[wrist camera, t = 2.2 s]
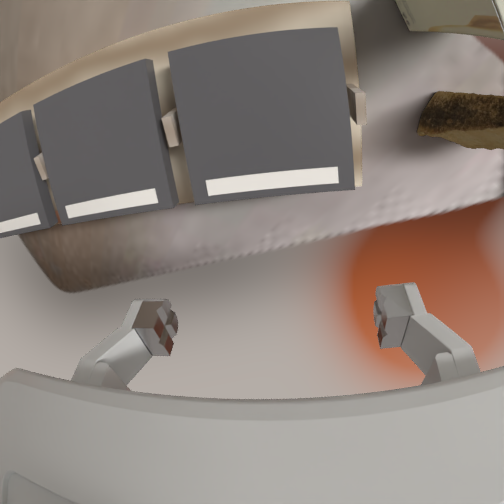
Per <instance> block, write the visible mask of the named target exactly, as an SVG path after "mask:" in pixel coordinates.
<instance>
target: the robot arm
mask: <svg viewBox="0 0 504 504" xmlns="http://www.w3.org/2000/svg"><path fill="white" fill-rule="evenodd" d="M376 297H377V300H376V301H375V302H374V321H375V326H376V327H378V328H379V329H378V334H377V336H378V340H379V345H380V349H381V348H392V347H401V348H402V350H403V351H404V352H405V353H406V354H407V355H408V356H409V357H410V358H411V359H412V361H413V362H414V363H415V364H416V365H417V366H418V367H419V368H420V370H421V371H422V372H423V373H424V374H425V375H426V376H425V378H424V380H423V382H422V384H421V385H420V386H414V387H408V388H402V389H395V390H388V391H380V392H372V393H364V394H354V395H344V396H333V397H319V398H318V397H317V398H298V399H217V398H197V397H183V396H171V395H161V394H151V393H143V392H135V391H131V390H130V389H129V388H128V387H127V386H126V385H127V384H128V383H129V382H130V381H131V380H132V379H133V378H134V376H135V375H136V374H137V373H138V372H139V371H140V370H141V369H142V368H143V366H144V365H145V364H146V363H147V362H148V361H149V360H150V358H151V357H152V356H170V354H171V351H172V348H173V344H174V343H173V341H172V338H173V337H174V336H175V335H176V333H177V330H178V320H177V316H176V314H175V312H173V311H172V310H170V308H171V303H170V302H169V300H167V299H135V300H133V302H132V303H131V306H130V308H129V310H128V312H127V314H126V317H125V319H124V321H123V323H122V326H121V328H117V329H116V330H115V331H113V332H112V333H111V334H110V335H109V336H107V337H106V338H105V339H104V340H103V341H101V342H100V343H99V344H98V345H97V346H96V347H94V348H93V349H92V350H91V351H89V352H88V353H87V354H86V355H85V356H83V357H82V358H81V359H80V361H79V364H78V366H77V368H76V371H75V373H74V375H73V377H72V380H71V381H69V380H64V379H60V378H55V377H51V376H46V375H42V374H39V373H35V372H30V371H27V370H23V369H19V368H16V369H13V370H11V371H9V372H8V373H6V374H5V375H4V376H3V377H1V378H0V504H504V366H502V367H499V368H495V369H491V370H488V371H484V372H480V369H479V366H478V363H477V360H476V357H475V354H474V352H473V349H472V346H470V345H469V344H468V343H467V342H466V341H464V340H463V339H462V338H461V337H459V336H458V335H457V334H456V333H455V332H453V331H452V330H451V329H450V328H448V327H447V326H446V325H445V324H443V323H442V322H441V321H440V320H438V319H437V318H436V317H435V316H433V315H432V314H427V312H426V309H425V306H424V304H423V301H422V299H421V296H420V293H419V291H418V288H417V286H416V284H415V283H414V282H413V283H404V284H396V285H387V286H378V287H377V289H376Z"/></svg>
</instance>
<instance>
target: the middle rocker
mask: <svg viewBox="0 0 504 504" xmlns="http://www.w3.org/2000/svg"><path fill="white" fill-rule="evenodd" d="M33 107H34V113H35V119H36V125H37V130H38V135H39V140H40V145H41V149H42V154H43V158H44V162H45V167H46V171H47V175H48V178H49V182H50V186H51V190H52V193H53V197H54V200H55V204H56V207H57V210H58V213H59V217H60V220H61V223H62V226H63V225H68V224H74V223H79V222H85V221H91V220H97V219H103V218H109V217H115V216H121V215H128V214H134V213H141V212H147V211H154V210H161V209H169V208H174V207H175V206H176V205H177V204H178V203H179V198H178V193H177V189H176V184H175V180H174V175H173V170H172V165H171V160H170V155H169V150H168V145H167V140H166V135H165V130H164V126H163V122H162V119H161V118H162V113H161V107H160V102H159V96H158V90H157V84H156V77H155V71H154V65H153V60H150V59H142V60H139V61H136V62H133V63H130V64H127V65H124V66H121V67H118V68H116V69H113V70H110V71H107V72H105V73H102V74H100V75H97V76H95V77H92V78H90V79H87V80H85V81H82V82H80V83H78V84H75V85H73V86H71V87H69V88H66V89H64V90H62V91H60V92H58V93H56V94H54V95H52V96H50V97H48V98H45V99H44V100H42V101H40V102H38V103H36V104H34V105H33Z"/></svg>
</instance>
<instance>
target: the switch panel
mask: <svg viewBox="0 0 504 504" xmlns="http://www.w3.org/2000/svg"><path fill="white" fill-rule="evenodd" d="M327 27H338V33H339V39H340V45H341V51H342V57H343V64H344V71H345V78H346V86H347V95H348V103H349V113H350V123H351V134H352V146H353V161H354V178H355V187H356V186H362V135H361V125H367V118H366V97H365V92H364V91H362V90H361V89H359V80H358V68H357V57H356V48H355V39H354V31H353V23H352V16H351V9H350V2H349V1H317V2H299V3H286V4H276V5H267V6H259V7H252V8H246V9H239V10H234V11H228V12H223V13H218V14H213V15H208V16H204V17H199V18H195V19H191V20H187V21H183V22H179V23H176V24H172V25H169V26H165V27H162V28H158V29H155V30H152V31H149V32H146V33H143V34H140V35H137V36H134V37H131V38H128V39H126V40H123V41H120V42H118V43H115V44H112V45H110V46H107V47H105V48H102V49H100V50H98V51H95V52H93V53H91V54H88V55H86V56H84V57H82V58H79V59H77V60H75V61H73V62H71V63H69V64H67V65H65V66H63V67H61V68H59V69H57V70H55V71H53V72H51V73H49V74H47V75H45V76H44V77H42V78H40V79H38V80H36V81H35V82H33V83H31V84H29V85H28V86H26V87H24V88H22V89H21V90H19V91H18V92H16V93H14V94H13V95H11V96H10V97H8V98H6V99H5V100H3V101H2V102H0V123H2V122H4V121H5V120H7V119H9V118H10V117H12V116H14V115H16V114H17V113H19V112H21V111H25V110H31V113H32V119H33V124H34V130H35V135H36V140H37V144H38V149H39V155H38V156H36V157H35V158H34V161H35V164H36V166H37V168H38V171H39V173H40V176H41V178H42V180H45V179H46V182H47V186H48V189H49V193H50V196H51V200H52V203H53V207H54V210H55V213H56V216H57V220H58V223H56V224H60V223H61V220H60V217H59V213H58V210H57V207H56V204H55V200H54V197H53V193H52V190H51V186H50V182H49V178H48V175H47V171H46V167H45V162H44V158H43V154H42V149H41V145H40V140H39V135H38V130H37V125H36V119H35V113H34V107H33V105H34V104H36V103H38V102H40V101H42V100H44V99H45V98H48V97H50V96H52V95H54V94H56V93H58V92H60V91H62V90H64V89H66V88H69V87H71V86H73V85H75V84H78V83H80V82H82V81H85V80H87V79H90V78H92V77H95V76H97V75H100V74H102V73H105V72H107V71H110V70H113V69H116V68H118V67H121V66H124V65H127V64H130V63H133V62H136V61H139V60H142V59H150V60H153V65H154V71H155V77H156V84H157V90H158V96H159V102H160V107H161V113H162V118H161V119H162V122H163V126H164V130H165V135H166V140H167V145H168V150H169V155H170V160H171V165H172V170H173V175H174V180H175V184H176V189H177V193H178V198H179V203H178V204H184V203H191V202H194V197H193V192H192V187H191V182H190V177H189V172H188V167H187V162H186V157H185V151H184V146H183V141H182V135H181V130H180V124H179V119H178V113H177V107H176V101H175V95H174V90H173V83H172V77H171V71H170V65H169V58H168V52H169V51H173V50H177V49H181V48H185V47H189V46H193V45H197V44H202V43H206V42H211V41H216V40H221V39H226V38H232V37H238V36H244V35H250V34H257V33H265V32H273V31H283V30H293V29H307V28H327Z"/></svg>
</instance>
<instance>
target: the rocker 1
mask: <svg viewBox="0 0 504 504" xmlns="http://www.w3.org/2000/svg"><path fill="white" fill-rule="evenodd" d="M38 155H39V149H38V144H37V140H36V135H35V130H34V124H33V119H32V113H31V110H25V111H21V112H19V113H17V114H16V115H14V116H12V117H10V118H9V119H7V120H5V121H4V122H2V123H0V238H2V237H7V236H12V235H17V234H22V233H27V232H31V231H36V230H42V229H47V228H51V227H52V226H54V225H55V224H56V223H58V220H57V216H56V213H55V210H54V207H53V203H52V200H51V196H50V193H49V189H48V186H47V182H46V179H45V180H42V178H41V176H40V173H39V171H38V168H37V166H36V164H35V161H34V158H35V157H36V156H38Z"/></svg>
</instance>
